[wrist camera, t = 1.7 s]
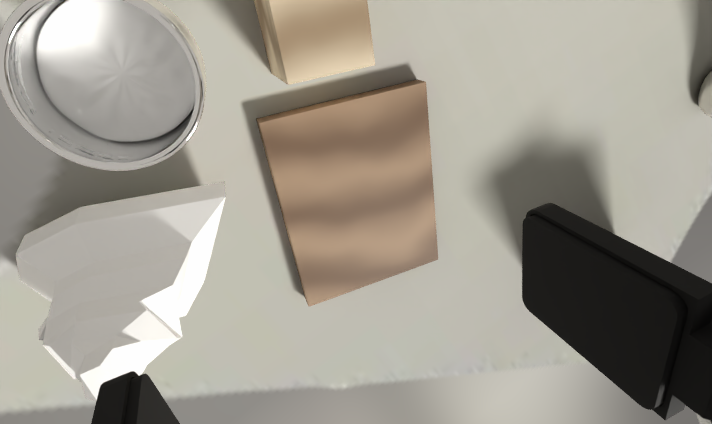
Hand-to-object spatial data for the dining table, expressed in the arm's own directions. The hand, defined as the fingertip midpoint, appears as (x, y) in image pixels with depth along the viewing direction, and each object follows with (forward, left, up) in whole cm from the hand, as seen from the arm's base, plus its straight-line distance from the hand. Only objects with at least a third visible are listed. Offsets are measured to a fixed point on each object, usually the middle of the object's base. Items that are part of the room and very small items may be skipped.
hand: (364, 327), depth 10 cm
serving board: (+10, +8, -26) cm, 28 cm away
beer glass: (-5, -5, -26) cm, 27 cm away
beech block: (-5, +6, -26) cm, 27 cm away
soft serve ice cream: (+9, -11, -26) cm, 29 cm away
